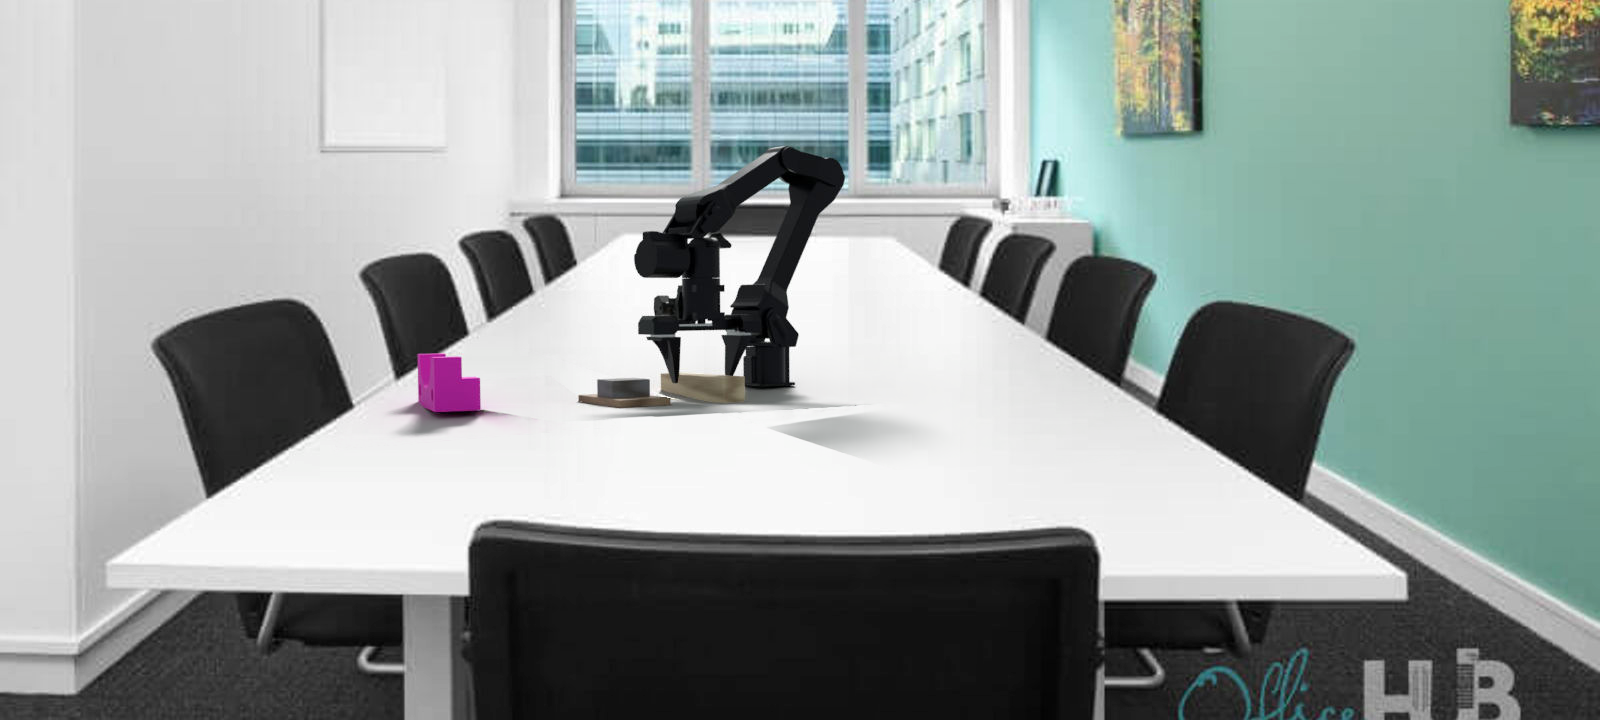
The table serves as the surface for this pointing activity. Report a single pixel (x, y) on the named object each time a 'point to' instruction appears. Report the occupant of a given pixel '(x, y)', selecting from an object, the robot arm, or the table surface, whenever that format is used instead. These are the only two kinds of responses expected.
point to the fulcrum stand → (624, 393)
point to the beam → (706, 387)
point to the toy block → (446, 384)
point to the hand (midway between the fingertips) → (702, 382)
